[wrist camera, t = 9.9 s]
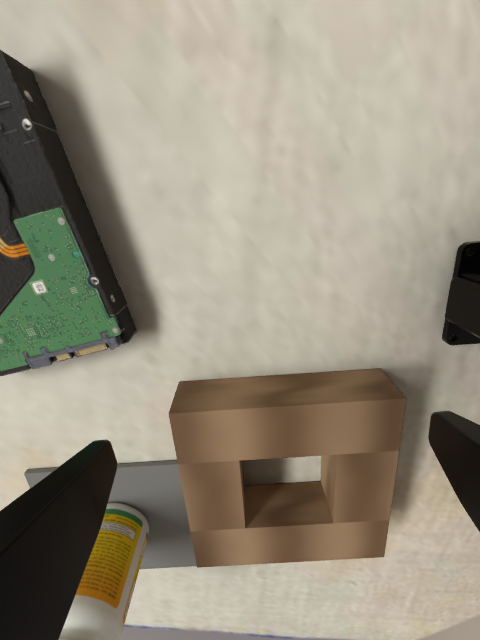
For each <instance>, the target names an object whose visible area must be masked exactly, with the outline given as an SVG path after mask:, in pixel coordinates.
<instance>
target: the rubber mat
mask: <svg viewBox="0 0 480 640" xmlns="http://www.w3.org/2000/svg"><path fill="white" fill-rule="evenodd" d="M56 469H57V468H42V469H27V471H26V472H25V473H24V475H25V477H26V479H27V482H28V484H29V486H30V488H32V487H33V486H34V485H36V484H37V483H38V482H40V481H41V480H42V479H44V478H45V477H46V476H48V475H49V474H50V473H52V472H53V471H54V470H56ZM108 503H121V504H126V505H128V506H131V507H132V508H134V509H136V510H138V511H139V512H141V513H142V514H143V515H144V516H145V518H146V520H147V522H148V525H149V535H148V539H147V543H146V547H145V551H144V554H143V558H142V562H141V565H140V569H152V568H170V567H188V566H197V564H196V559H195V554H194V548H193V543H192V537H191V532H190V526H189V521H188V516H187V510H186V505H185V499H184V494H183V488H182V483H181V478H180V472H179V467H178V461H177V460H172V461H156V462H139V463H123V464H117V471H116V475H115V478H114V482H113V486H112V489H111V493H110V497H109V500H108Z"/></svg>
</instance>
